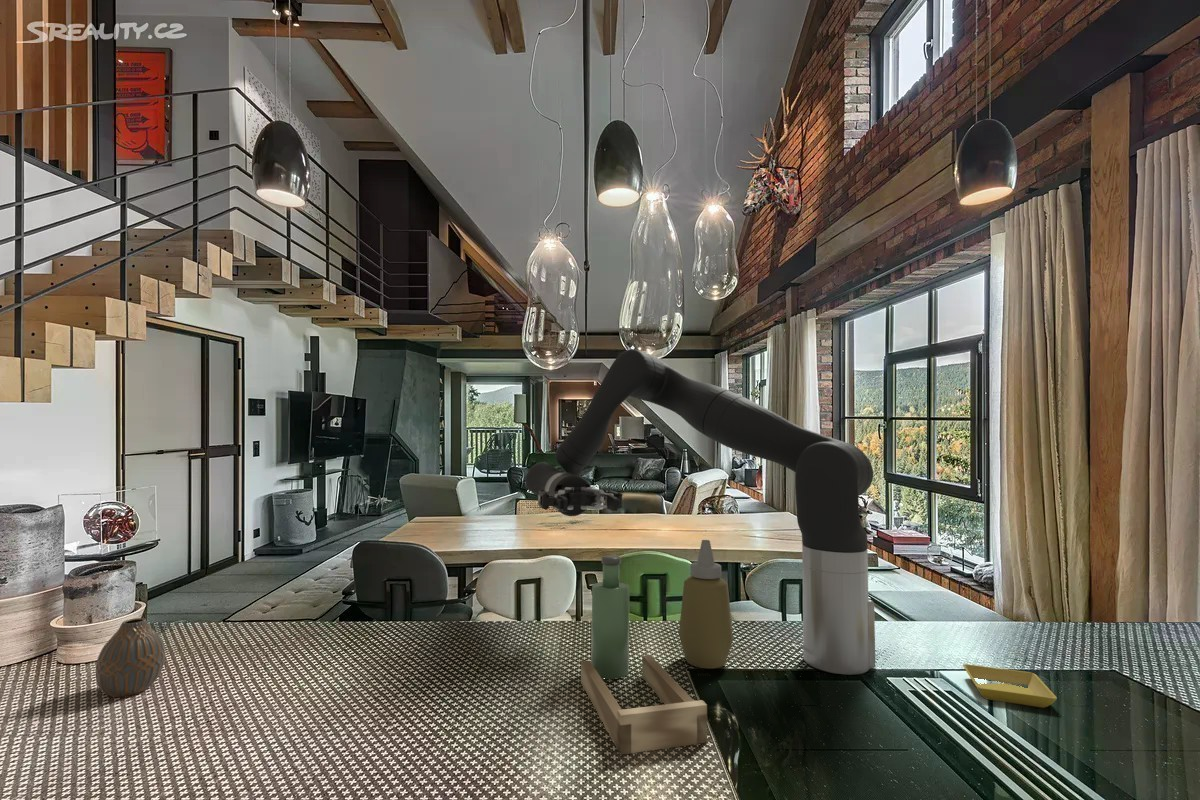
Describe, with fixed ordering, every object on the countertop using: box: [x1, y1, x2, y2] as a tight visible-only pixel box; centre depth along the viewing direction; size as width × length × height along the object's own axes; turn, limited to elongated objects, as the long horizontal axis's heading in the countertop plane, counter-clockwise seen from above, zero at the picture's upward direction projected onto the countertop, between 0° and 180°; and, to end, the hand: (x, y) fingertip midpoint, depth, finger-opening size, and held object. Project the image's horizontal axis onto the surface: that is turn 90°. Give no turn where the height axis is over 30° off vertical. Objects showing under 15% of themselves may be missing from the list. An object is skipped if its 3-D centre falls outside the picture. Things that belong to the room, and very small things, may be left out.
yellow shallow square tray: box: [962, 663, 1058, 709], centre depth 76 cm, size 9×9×2 cm
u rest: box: [580, 654, 708, 755], centre depth 70 cm, size 10×18×4 cm, turn 16°
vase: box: [95, 617, 166, 698], centre depth 73 cm, size 7×7×9 cm
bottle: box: [590, 554, 631, 680], centre depth 81 cm, size 5×5×16 cm
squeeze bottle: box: [678, 539, 734, 670], centre depth 85 cm, size 8×8×18 cm
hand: (591, 505), depth 92 cm, fingers open, 8 cm apart
